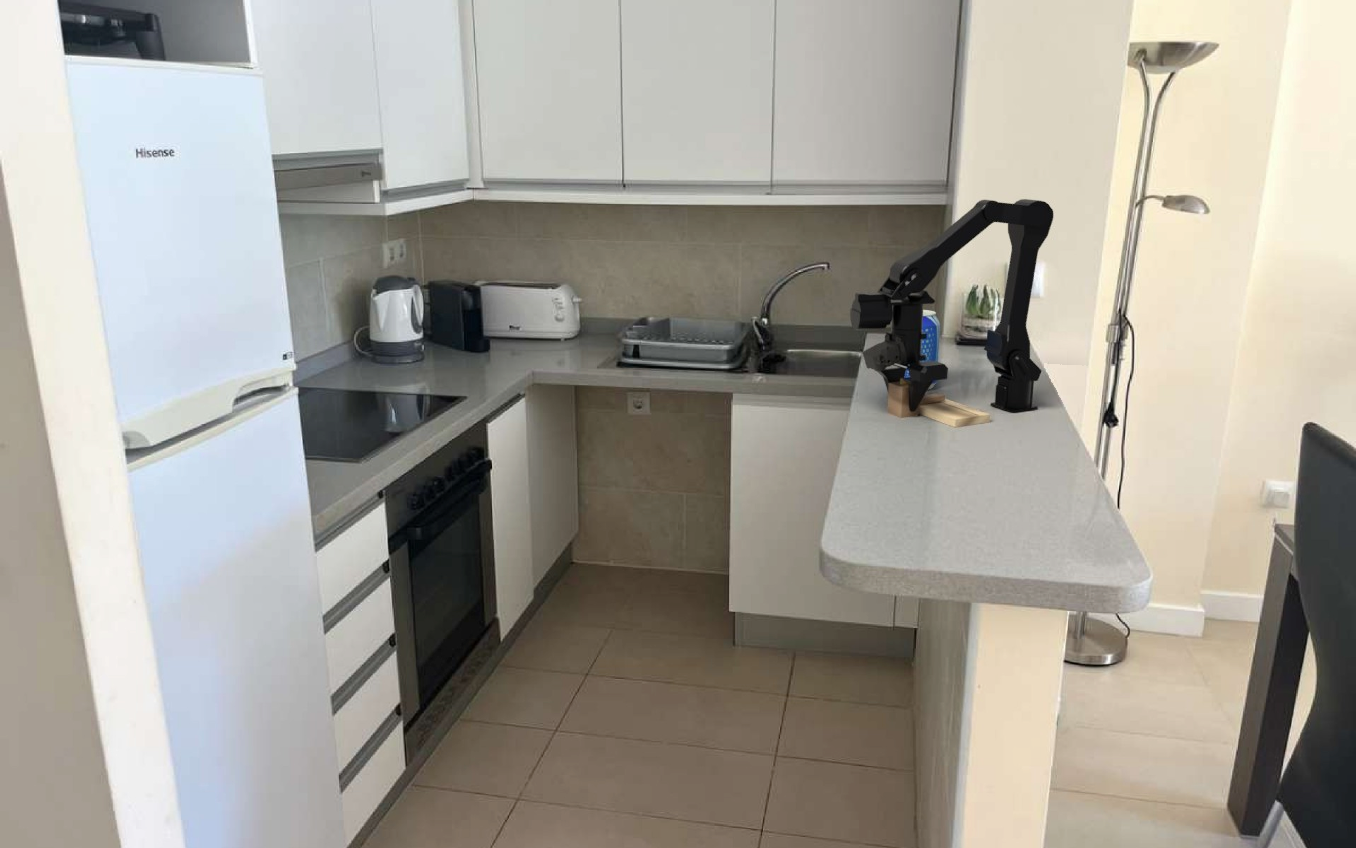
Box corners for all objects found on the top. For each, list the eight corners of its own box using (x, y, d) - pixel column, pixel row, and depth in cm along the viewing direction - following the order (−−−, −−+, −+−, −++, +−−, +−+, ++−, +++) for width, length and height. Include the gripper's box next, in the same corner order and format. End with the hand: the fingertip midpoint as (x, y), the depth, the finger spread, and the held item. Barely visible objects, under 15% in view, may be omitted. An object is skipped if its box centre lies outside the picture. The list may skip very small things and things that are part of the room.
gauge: (933, 406, 198) (935, 371, 196) (948, 411, 194) (950, 376, 192) (887, 412, 193) (888, 377, 191) (901, 418, 189) (902, 382, 188)
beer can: (893, 389, 211) (896, 314, 207) (900, 380, 219) (903, 308, 214) (933, 392, 208) (937, 316, 204) (939, 383, 215) (943, 309, 211)
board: (935, 402, 200) (936, 395, 199) (989, 422, 186) (990, 414, 185) (902, 407, 197) (902, 400, 196) (954, 427, 183) (955, 419, 182)
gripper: (843, 323, 193) (840, 402, 197) (900, 339, 176) (897, 424, 181) (891, 318, 197) (888, 395, 201) (952, 334, 181) (947, 417, 185)
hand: (903, 407), depth 192 cm, fingers open, 6 cm apart
